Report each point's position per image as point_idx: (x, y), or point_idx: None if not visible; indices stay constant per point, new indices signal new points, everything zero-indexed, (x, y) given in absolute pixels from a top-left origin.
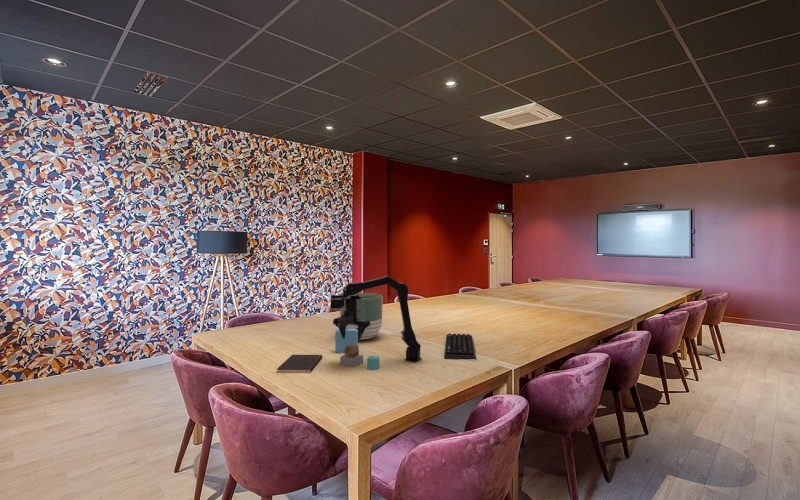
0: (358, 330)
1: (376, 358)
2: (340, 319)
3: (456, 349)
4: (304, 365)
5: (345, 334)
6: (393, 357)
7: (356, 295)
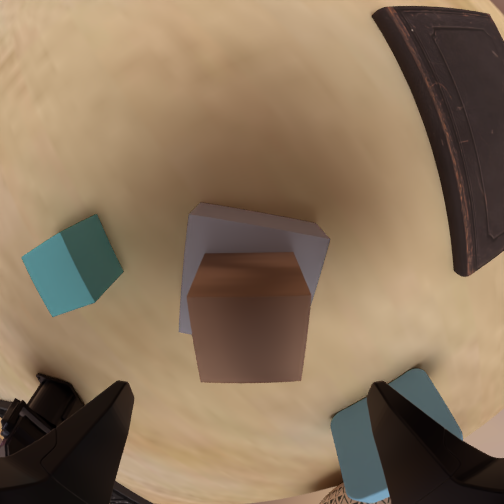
0: (34, 477)
1: (31, 267)
2: None
3: None
4: (449, 59)
5: None
6: None
7: None
